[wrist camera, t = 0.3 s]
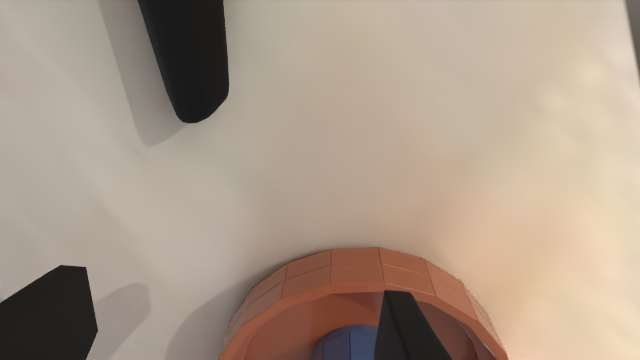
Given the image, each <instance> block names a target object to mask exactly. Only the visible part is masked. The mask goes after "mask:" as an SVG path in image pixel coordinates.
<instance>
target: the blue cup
mask: <svg viewBox="0 0 640 360" xmlns="http://www.w3.org/2000/svg"><path fill="white" fill-rule="evenodd" d="M377 331H378V328H376V327H372V326H365V325H354V326H347V327H342V328H339V329H336V330H334V331H332V332H330V333H329V334H327V335H325V336H324V337H323V338H322V339H320V341H319V342H318V343H317V344H316V345H315V347H314V348H313V350H312V352H311V354H310V357H309V360H374V348H375V342H376V337H377Z"/></svg>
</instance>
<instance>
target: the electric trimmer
mask: <svg viewBox="0 0 640 360" xmlns="http://www.w3.org/2000/svg"><path fill="white" fill-rule="evenodd" d="M138 2H139V5H140V9H141V12H142V15H143V18H144V21H145V25H146V28H147V31H148V34H149V37H150V41H151V44H152V47H153V50H154V53H155V56H156V60H157V63H158V66H159V69H160V72H161V75H162V78H163V82H164V85H165V88H166V91H167V93H168V96H169V98H170V101H171V103H172V105H173V108H174V110H175V112H176V115H177V116H178V118H179V119H180V120H181V121H182V122H185V123H197V122H200V121H202V120H204V119H206V118H208V117H209V116H210V115H211V114H213V113H214V112H215V111H216V109H217V108H218V107H219V106H220V105H221V104H222V103H223V102H224V100H225V99H226V98H227V96H228V92H229V74H228V56H227V43H226V31H225V19H224V7H223V0H138Z"/></svg>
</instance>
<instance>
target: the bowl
mask: <svg viewBox="0 0 640 360" xmlns="http://www.w3.org/2000/svg"><path fill="white" fill-rule="evenodd" d="M384 290H393V291H406V292H410V293H411V294H412V295H413V296H414V298H415V300H416V302H417V303H418V305H419V307H420V309H421V310H422V312H423V314H424V315H425V317H426V319H427V320H428V322H429V324H430V325H431V327H432V328H433V330H434V332H435V333H436V335H437V336H438V338H439V339H440V341H441V343H442V344H443V346H444V347H445V348H446V350H447V351H448V353H449V354H450V356H451V357H452V359H453V360H508V356H507V354H506V351H505V349H504V347H503V345H502V343H501V341H500V339H499V337H498V335H497V333H496V331H495V329H494V326H493V324H492V322H491V320H490V318H489V316H488V314H487V312H486V311H485V310H484V308H483V307H482V306H481V305H480V304H479V302H478V301H477V300H476V299H475V297H474V296H473V295H472V294H471V293H470V291H469V290H468V289H467V288H466V287H465V285H464V284H463V283H462V282H461V281H460V280H458V279H456V278H455V277H453V276H452V275H450V274H448V273H447V272H445V271H443V270H442V269H440V268H438V267H437V266H435V265H433V264H432V263H430V262H428V261H427V260H425V259H423V258H420V257H416V256H412V255H408V254H404V253H400V252H396V251H392V250H388V249H384V248H380V247H379V248H349V249H332V250H327V251H324V252H321V253H318V254H315V255H312V256H309V257H306V258H302V259H299V260H296V261H293V262H290V263H288V264H286V265H284V266H283V267H282V268H280V269H279V270H277V271H276V272H275V273H273V274H272V275H270V276H269V277H268V278H266V279H265V280H263V281H262V282H261V283H259V284H258V285H256V286H255V287H254V288H253V289H252V290H251V291H250V293H249V294H248V296H247V297H246V299H245V300H244V302H243V303H242V304H241V306H240V307H239V309H238V310H237V312H236V313H235V315H234V316H233V317H232V319H231V321H230V324H229V327H228V330H227V333H226V336H225V339H224V342H223V345H222V348H221V351H220V354H219V357H218V360H309V357H310V354H311V352H312V350H313V348H314V347H315V345H316V344H317V343H318V342H319V341H320V339H322V338H323V337H324V336H325V335H327V334H329V333H330V332H332V331H334V330H336V329H339V328H342V327H347V326H354V325H365V326H372V327H376V328H378V325H379V319H380V313H381V307H382V301H383V295H384Z"/></svg>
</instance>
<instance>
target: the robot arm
mask: <svg viewBox="0 0 640 360" xmlns="http://www.w3.org/2000/svg"><path fill="white" fill-rule="evenodd" d="M97 332H98V328H97V323H96V318H95V312H94V307H93V302H92V297H91V291H90V286H89V281H88V275H87V270H86V267H78V266H65V265H60V266H58V267H57V268H55V269H53V270H51V271H50V272H48V273H46V274H45V275H43V276H42V277H40V278H38V279H37V280H35V281H34V282H32V283H31V284H29V285H27V286H26V287H24V288H23V289H21V290H20V291H18V292H16V293H15V294H13V295H12V296H10V297H9V298H7V299H5V300H4V301H2V302H1V303H0V360H86V358H87V356H88V353H89V351H90V349H91V346H92V344H93V341H94V339H95V337H96V334H97ZM374 360H453V359H452V357H451V356H450V354H449V353H448V351H447V350H446V348H445V347H444V346H443V344H442V343H441V341H440V339H439V338H438V336H437V335H436V333H435V332H434V330H433V328H432V327H431V325H430V324H429V322H428V320H427V319H426V317H425V315H424V314H423V312H422V310H421V309H420V307H419V305H418V303H417V302H416V300H415V298H414V296H413V295H412V294H411V293H410V292H406V291H393V290H384V295H383V301H382V307H381V313H380V319H379V325H378V331H377V337H376V342H375V348H374Z"/></svg>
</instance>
